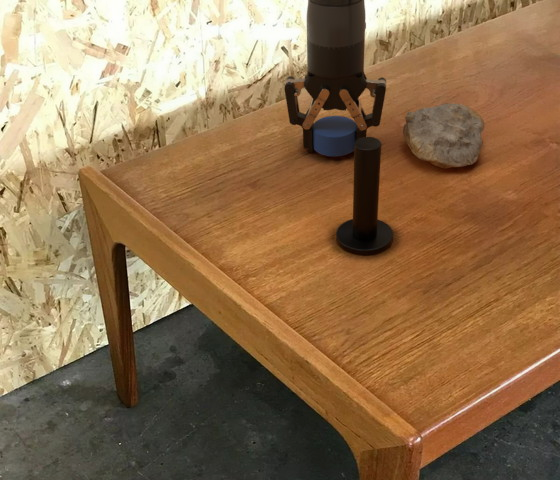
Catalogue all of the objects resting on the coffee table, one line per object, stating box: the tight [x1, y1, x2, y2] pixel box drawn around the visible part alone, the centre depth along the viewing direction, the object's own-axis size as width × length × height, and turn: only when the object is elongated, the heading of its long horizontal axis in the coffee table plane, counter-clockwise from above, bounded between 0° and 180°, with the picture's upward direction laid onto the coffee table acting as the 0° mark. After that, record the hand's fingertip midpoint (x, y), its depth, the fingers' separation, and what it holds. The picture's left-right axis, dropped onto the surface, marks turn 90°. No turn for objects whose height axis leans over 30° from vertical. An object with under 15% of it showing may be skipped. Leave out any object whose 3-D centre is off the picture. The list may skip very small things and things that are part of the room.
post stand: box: [335, 136, 394, 256], centre depth 94 cm, size 7×7×13 cm
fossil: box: [402, 102, 485, 169], centre depth 110 cm, size 12×8×10 cm
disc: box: [313, 115, 357, 157], centre depth 113 cm, size 6×6×3 cm
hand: (334, 150), depth 114 cm, fingers closed on disc, 6 cm apart
